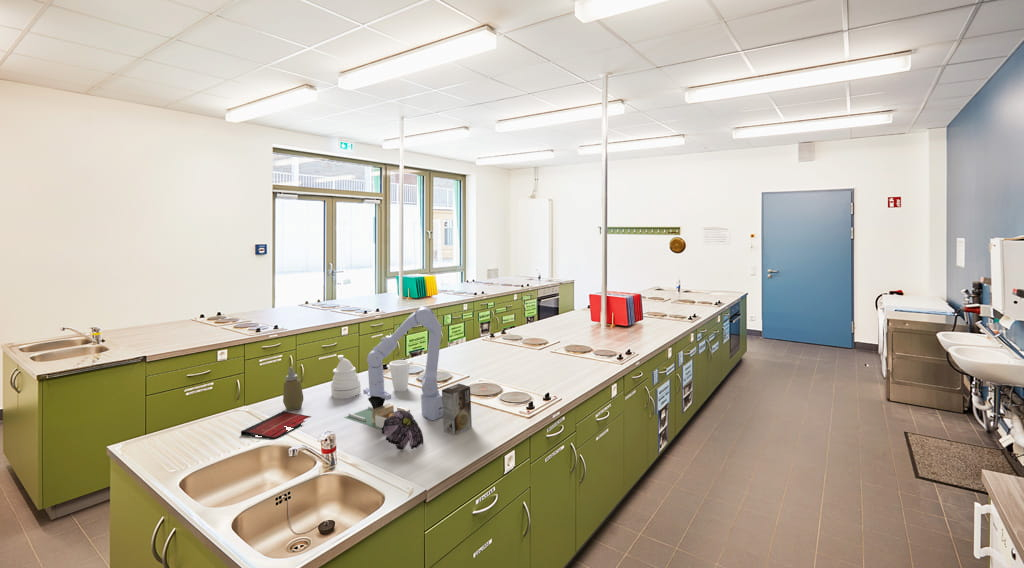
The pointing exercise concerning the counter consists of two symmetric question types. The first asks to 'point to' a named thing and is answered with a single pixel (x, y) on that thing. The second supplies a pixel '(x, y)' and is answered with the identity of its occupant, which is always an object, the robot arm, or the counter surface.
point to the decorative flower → (402, 430)
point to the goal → (380, 420)
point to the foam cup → (399, 374)
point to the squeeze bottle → (292, 391)
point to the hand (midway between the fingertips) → (378, 414)
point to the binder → (276, 425)
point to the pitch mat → (363, 417)
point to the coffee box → (456, 409)
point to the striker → (383, 411)
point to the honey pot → (345, 380)
